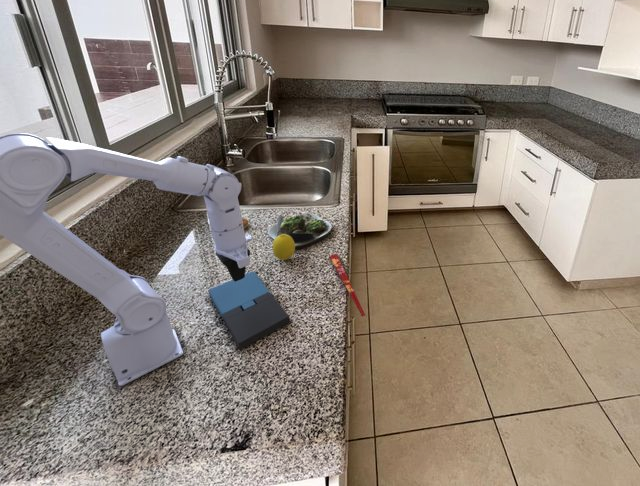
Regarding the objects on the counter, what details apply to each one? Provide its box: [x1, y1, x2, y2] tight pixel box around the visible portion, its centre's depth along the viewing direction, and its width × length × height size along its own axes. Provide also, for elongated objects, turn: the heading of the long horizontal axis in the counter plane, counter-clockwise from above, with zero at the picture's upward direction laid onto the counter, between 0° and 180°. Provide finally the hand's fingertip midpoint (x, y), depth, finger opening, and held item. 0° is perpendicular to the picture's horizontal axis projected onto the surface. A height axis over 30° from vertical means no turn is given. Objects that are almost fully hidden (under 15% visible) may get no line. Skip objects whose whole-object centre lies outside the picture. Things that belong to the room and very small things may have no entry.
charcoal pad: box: [221, 292, 291, 351], centre depth 72 cm, size 10×10×2 cm
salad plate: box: [267, 212, 333, 250], centre depth 104 cm, size 19×18×5 cm
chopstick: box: [329, 253, 366, 317], centre depth 84 cm, size 2×24×1 cm, turn 30°
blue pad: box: [208, 270, 271, 319], centre depth 78 cm, size 10×12×2 cm
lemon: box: [272, 234, 296, 261], centre depth 91 cm, size 6×6×8 cm
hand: (238, 278), depth 75 cm, fingers closed
